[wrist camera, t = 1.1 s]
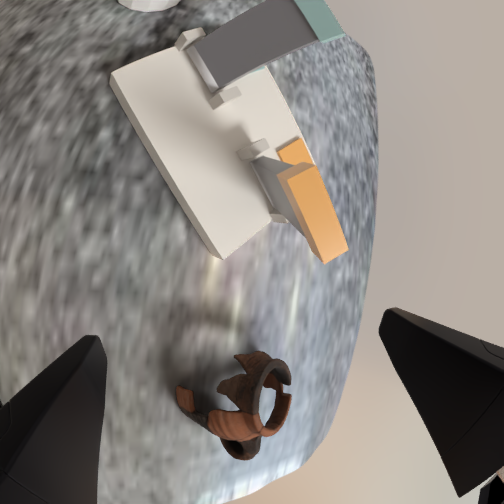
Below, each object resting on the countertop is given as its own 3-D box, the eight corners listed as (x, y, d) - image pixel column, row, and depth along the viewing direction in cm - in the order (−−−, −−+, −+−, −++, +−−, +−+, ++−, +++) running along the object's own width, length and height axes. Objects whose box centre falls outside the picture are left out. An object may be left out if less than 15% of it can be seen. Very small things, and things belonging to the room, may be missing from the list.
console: (213, 257, 22) (236, 266, 19) (108, 82, 15) (112, 58, 12) (308, 182, 26) (337, 181, 23) (231, 36, 19) (253, 17, 16)
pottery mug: (160, 359, 21) (239, 374, 17) (225, 333, 29) (294, 336, 25) (187, 462, 20) (258, 489, 16) (239, 423, 29) (302, 435, 24)
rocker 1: (209, 96, 17) (344, 33, 11) (181, 50, 15) (308, -22, 9) (218, 93, 18) (346, 35, 12) (192, 49, 16) (312, -17, 10)
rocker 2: (271, 208, 22) (324, 264, 13) (246, 160, 20) (286, 180, 11) (286, 200, 22) (348, 249, 12) (262, 151, 20) (315, 165, 11)
